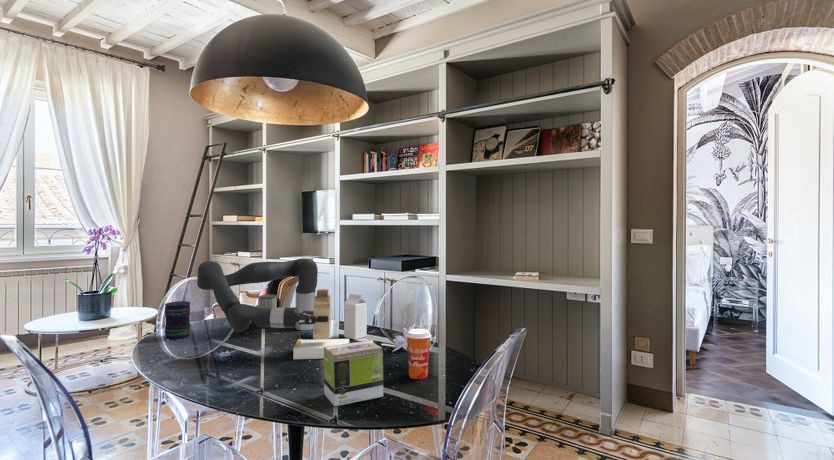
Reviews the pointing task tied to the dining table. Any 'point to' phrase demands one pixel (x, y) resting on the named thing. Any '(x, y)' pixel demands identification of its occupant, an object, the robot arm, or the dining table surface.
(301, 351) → the white flat box
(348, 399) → the tea box
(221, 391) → the dining table surface
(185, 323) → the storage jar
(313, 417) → the dining table surface
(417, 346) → the coffee cup
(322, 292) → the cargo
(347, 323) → the milk carton
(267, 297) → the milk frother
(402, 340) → the water lily
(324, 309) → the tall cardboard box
